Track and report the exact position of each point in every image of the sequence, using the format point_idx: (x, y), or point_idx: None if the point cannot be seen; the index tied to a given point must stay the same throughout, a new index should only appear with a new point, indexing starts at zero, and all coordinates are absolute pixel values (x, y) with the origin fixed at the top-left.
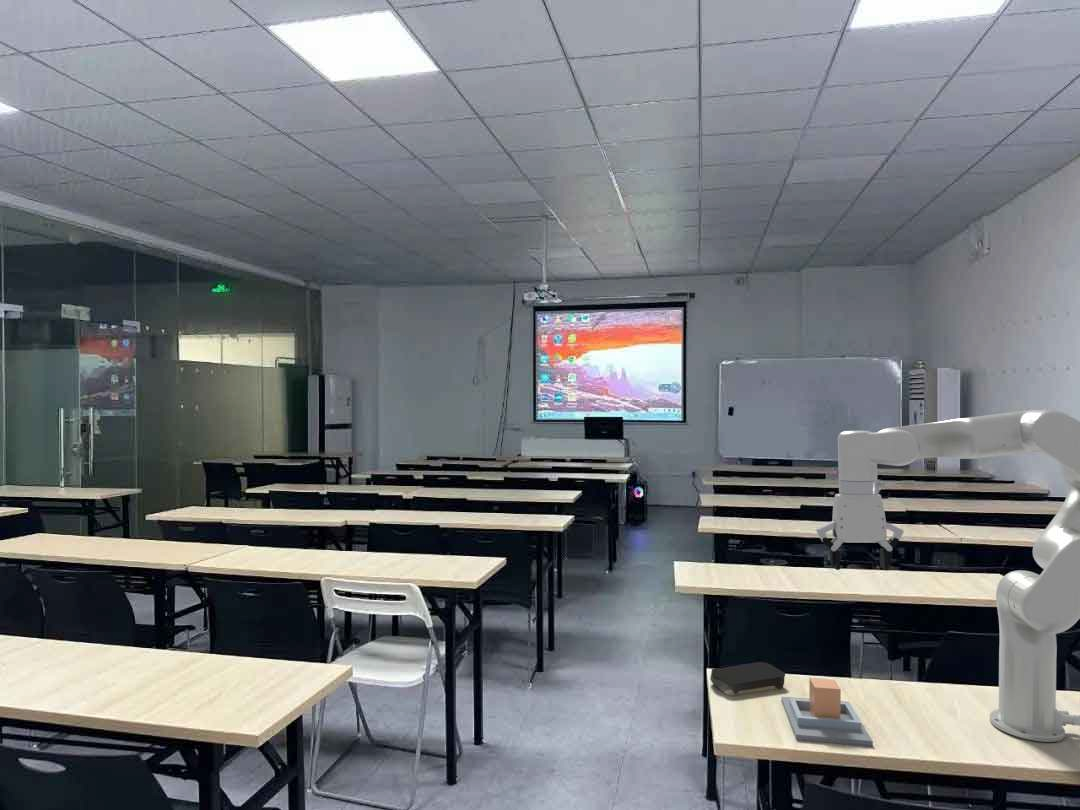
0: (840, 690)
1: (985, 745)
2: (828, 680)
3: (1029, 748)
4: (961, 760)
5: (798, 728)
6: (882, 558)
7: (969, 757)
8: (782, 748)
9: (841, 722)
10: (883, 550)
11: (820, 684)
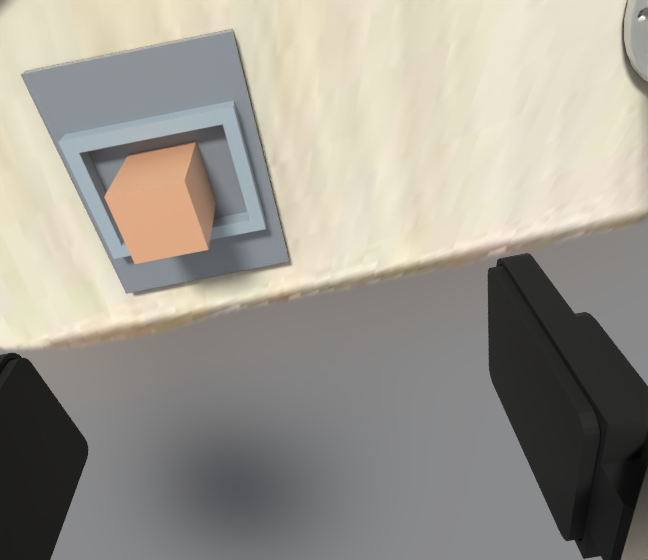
0: (208, 247)
1: (540, 155)
2: (166, 196)
3: (637, 132)
4: (457, 246)
5: (124, 264)
6: (530, 409)
7: (478, 227)
8: (111, 329)
9: (219, 237)
10: (592, 511)
11: (147, 237)
